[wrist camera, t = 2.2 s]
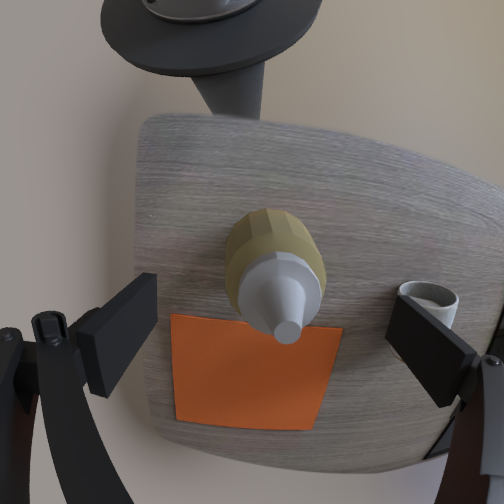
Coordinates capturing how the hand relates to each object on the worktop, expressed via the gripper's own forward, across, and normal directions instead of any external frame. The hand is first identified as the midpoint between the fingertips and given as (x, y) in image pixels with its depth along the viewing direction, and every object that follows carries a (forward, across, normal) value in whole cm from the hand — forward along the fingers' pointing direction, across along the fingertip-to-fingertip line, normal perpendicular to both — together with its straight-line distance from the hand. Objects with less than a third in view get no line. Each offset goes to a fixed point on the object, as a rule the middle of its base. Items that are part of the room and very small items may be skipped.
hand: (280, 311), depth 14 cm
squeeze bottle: (+16, 0, 0) cm, 16 cm away
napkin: (+16, 0, -18) cm, 23 cm away
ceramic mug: (+16, +20, -6) cm, 26 cm away
